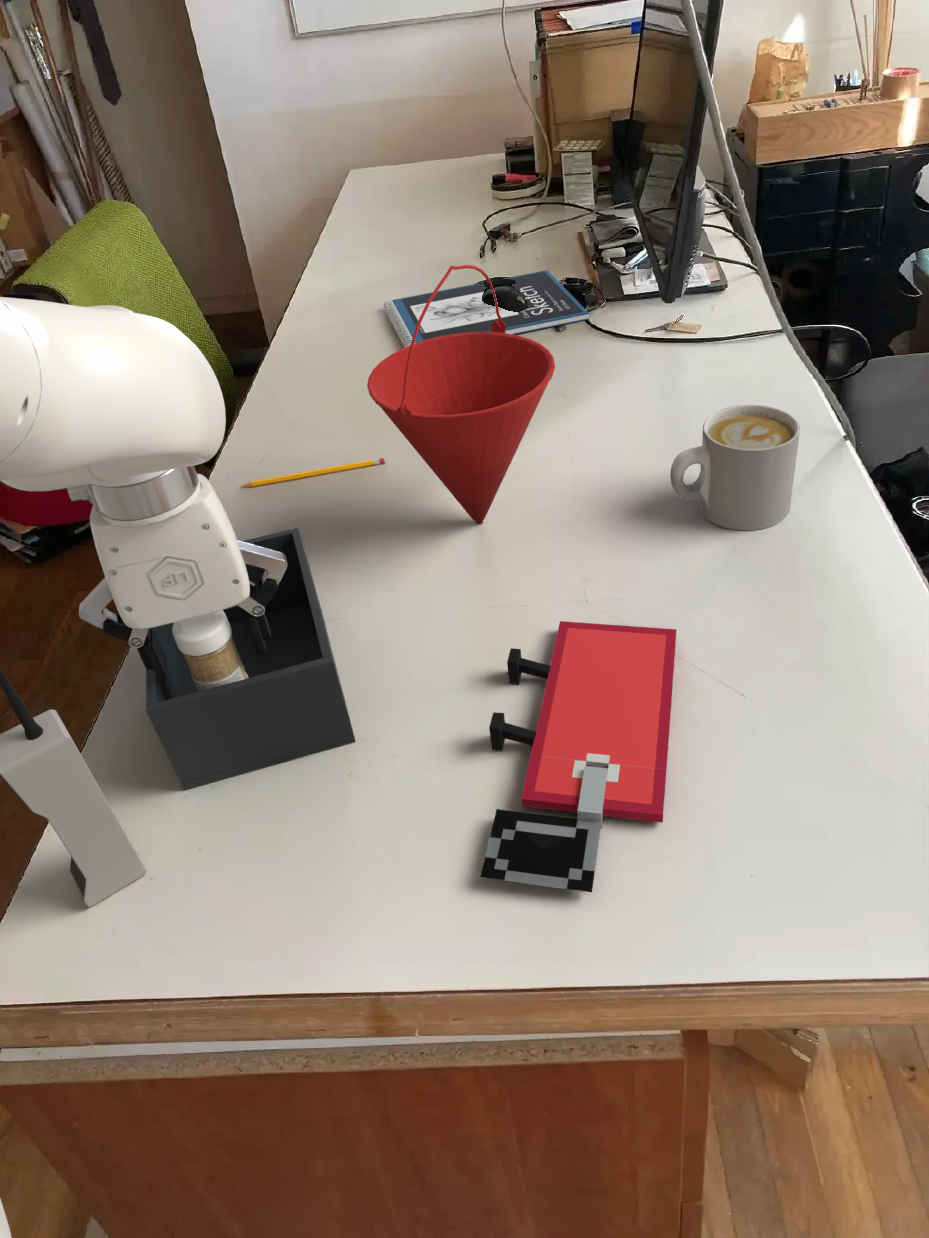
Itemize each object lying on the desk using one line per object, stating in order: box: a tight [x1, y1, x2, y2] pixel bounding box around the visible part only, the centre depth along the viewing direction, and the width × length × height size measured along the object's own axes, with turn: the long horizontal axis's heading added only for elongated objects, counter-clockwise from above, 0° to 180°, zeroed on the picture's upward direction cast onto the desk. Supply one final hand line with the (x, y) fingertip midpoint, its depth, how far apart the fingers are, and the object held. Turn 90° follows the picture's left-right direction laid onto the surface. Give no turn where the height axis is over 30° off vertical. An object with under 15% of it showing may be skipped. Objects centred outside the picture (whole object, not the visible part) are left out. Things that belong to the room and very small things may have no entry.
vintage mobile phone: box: [0, 665, 148, 908], centre depth 68 cm, size 4×5×25 cm
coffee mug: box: [669, 404, 801, 531], centre depth 102 cm, size 13×10×10 cm
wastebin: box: [145, 526, 356, 791], centre depth 88 cm, size 22×16×10 cm
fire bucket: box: [366, 264, 556, 525], centre depth 99 cm, size 22×20×30 cm
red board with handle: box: [479, 620, 677, 893], centre depth 80 cm, size 30×3×15 cm
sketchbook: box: [383, 269, 590, 348], centre depth 155 cm, size 22×30×2 cm
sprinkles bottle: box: [172, 610, 248, 692], centre depth 81 cm, size 5×5×13 cm
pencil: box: [239, 457, 386, 488], centre depth 121 cm, size 1×19×1 cm, turn 99°
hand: (212, 656), depth 79 cm, fingers open, 7 cm apart
